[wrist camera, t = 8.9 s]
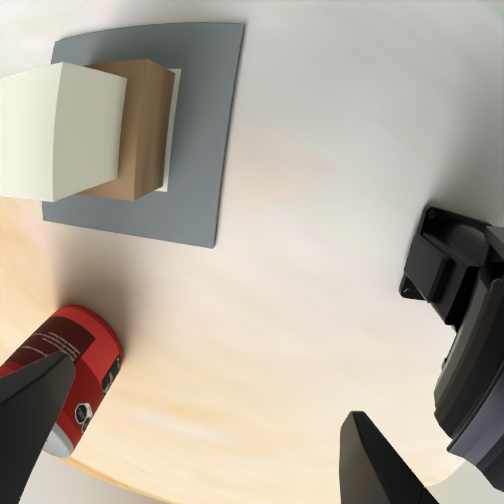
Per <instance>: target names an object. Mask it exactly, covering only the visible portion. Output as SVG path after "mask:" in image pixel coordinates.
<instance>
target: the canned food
mask: <svg viewBox="0 0 504 504" xmlns="http://www.w3.org/2000/svg"><path fill="white" fill-rule="evenodd" d="M57 351H63V352H66V353H68V354H70V356H71V358H72V361H73V365H74V368H75V378H74V381H73V383H72V385H71V388H70V390H69V393H68V395H67V398H66V400H65V403H64V405H63V408H62V410H61V412H60V414H59V417H58V418H57V420H56V422H55V424H54V426H53V428H52V430H51V432H50V434H49V436H48V438H47V440H46V442H45V444H44V446H43V448H42V450H44V451H45V452H47V453H49V454H51V455H54V456H57V457H60V458H69V457H70V455H71V454H72V453H73V451H74V449H75V448H76V446H77V444H78V442H79V441H80V439H81V437H82V435H83V434H84V432H85V430H86V428H87V426H88V425H89V423H90V421H91V419H92V417H93V416H94V414H95V412H96V410H97V409H98V407H99V405H100V403H101V402H102V400H103V398H104V396H105V395H106V393H107V391H108V390H109V388H110V386H111V384H112V383H113V381H114V379H115V378H116V376H117V374H118V373H119V371H120V368H121V364H122V359H123V354H122V348H121V345H120V343H119V340H118V338H117V337H116V335H115V333H114V332H113V331H112V329H111V328H110V327H109V325H108V324H107V323H106V322H105V321H104V320H103V319H102V318H100V317H99V316H98V315H97V314H95V313H94V312H92V311H91V310H89V309H87V308H84V307H82V306H78V305H69V306H66V307H63V308H60V309H59V310H57V311H56V312H55V313H54V314H53V315H52V316H50V317H49V318H48V319H47V320H46V321H45V322H44V323H43V324H42V325H41V326H40V327H39V328H38V329H37V330H36V331H35V332H34V333H33V334H32V335H31V336H30V337H29V338H28V339H27V340H26V341H25V342H24V343H23V344H22V345H21V346H20V347H19V348H18V349H17V350H16V351H15V352H14V353H13V354H12V355H11V356H10V357H9V358H8V359H7V360H6V361H5V363H4V364H3V365H2V366H1V367H0V378H1V377H3V376H5V375H7V374H9V373H12V372H14V371H16V370H18V369H20V368H22V367H25V366H27V365H29V364H31V363H33V362H35V361H37V360H40V359H42V358H44V357H46V356H48V355H50V354H52V353H55V352H57Z"/></svg>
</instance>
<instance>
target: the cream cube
mask: <svg viewBox="0 0 504 504" xmlns="http://www.w3.org/2000/svg"><path fill="white" fill-rule="evenodd" d="M126 85H127V78H124V77H121V76H117V75H114V74H110V73H106V72H103V71H99V70H95V69H91V68H87V67H83V66H79V65H74V64H70V63H65V62H60V63H56V64H51V65H47V66H43V67H39V68H35V69H31V70H27V71H24V72H20V73H17V74H13V75H10V76H7V77H4V78H1V79H0V196H6V197H15V198H23V199H32V200H40V201H48V202H55V201H57V200H60V199H62V198H65V197H67V196H70V195H73V194H75V193H78V192H80V191H83V190H86V189H89V188H91V187H94V186H97V185H100V184H103V183H106V182H109V181H112V180H115V179H118V161H119V146H120V135H121V124H122V115H123V107H124V99H125V92H126Z"/></svg>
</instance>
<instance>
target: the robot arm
mask: <svg viewBox="0 0 504 504" xmlns="http://www.w3.org/2000/svg"><path fill="white" fill-rule="evenodd" d="M430 211H432V215H431V216H430V217H429V212H430ZM404 272H405V273H404V276H403V279H402V282H401V284H400V287H399V293H400V294H401V296H402V297H404V298H409V299H417V300H425V301H427V302H428V303H430V304H431V305H432V306H433V308H434V309H435V311H436V312H437V313H438V315H439V316H440V317H441V319H442V320H443V322H444V323H445V324H446V325H451V327H452V328H453V330H454V331H455V332H456V337H455V339H454V342H453V344H452V347H451V349H450V351H449V354H448V356H447V358H445V359H444V362H443V364H442V372H441V374H440V376H439V378H438V380H437V384H436V387H435V391H434V398H435V407H436V410H435V412H434V416H435V418H436V420H437V422H438V424H439V425H440V427H441V428H442V429H443V430H444V431H445V433H446V434H447V435H448V436H449V437H450V438H451V439H453V440H452V442H451V443H450V444H449V446H448V447H447V451H448V452H449V453H452V454H454V455H457V456H460V457H462V458H464V459H466V460H467V461H469V462H470V463H472V464H473V465H475V466H476V467H477V468H478V469H479V470H480V471H481V472H482V473H483V475H484V476H485V477H486V478H487V480H488V481H489V482H490V483H491V484H492V486H493V487H494V488H496V489H498V490H500V491H502V492H504V227H495V226H492V225H491V224H489V223H487V222H484V221H481V220H478V219H475V218H471V217H468V216H465V215H462V214H459V213H455V212H452V211H449V210H445V209H442V208H438V207H435V206H431V205H428V206H426V207H425V208H424V210H423V213H422V217H421V221H420V225H419V228H418V232H417V234H416V235H415V236H414V239H413V242H412V246H411V249H410V252H409V255H408V258H407V261H406V265H405V268H404ZM407 288H408V290H407V291H406V292H404V290H405V289H407ZM74 378H75V368H74V365H73V361H72V358H71V356H70V354H68V353H66V352H63V351H57V352H55V353H52V354H50V355H48V356H46V357H44V358H42V359H40V360H37V361H35V362H33V363H31V364H29V365H27V366H25V367H22V368H20V369H18V370H16V371H14V372H12V373H9V374H7V375H5V376H3V377H1V378H0V504H18V503H19V501H20V497H21V495H22V493H23V491H24V488H25V486H26V483H27V481H28V479H29V477H30V474H31V472H32V470H33V468H34V465H35V463H36V461H37V459H38V457H39V455H40V453H41V451H42V448H43V446H44V444H45V442H46V440H47V438H48V436H49V434H50V432H51V430H52V428H53V426H54V424H55V422H56V420H57V418H58V417H59V414H60V412H61V410H62V408H63V405H64V403H65V400H66V398H67V395H68V393H69V390H70V388H71V385H72V383H73V381H74ZM339 480H340V494H341V504H439V503H438V502H437V500H436V499H434V497H433V496H432V495H431V494H430V492H429V491H428V490H427V489H426V488H425V487H424V485H423V484H422V483H421V481H420V480H419V479H418V478H417V477H416V475H415V474H414V473H413V472H412V470H411V469H410V468H409V467H408V465H407V464H406V463H405V462H404V461H403V459H402V458H401V457H400V456H399V454H398V453H397V452H396V451H395V449H394V448H393V447H392V446H391V444H390V443H389V442H388V441H387V439H386V438H385V437H384V436H383V434H382V433H381V432H380V431H379V429H378V428H377V427H376V426H375V424H374V423H373V422H372V421H371V419H370V418H369V417H368V416H367V414H366V413H365V412H363V411H351V412H350V413H349V414H348V416H347V418H346V420H345V421H344V423H343V425H342V427H341V431H340V459H339Z"/></svg>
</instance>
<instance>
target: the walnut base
mask: <svg viewBox="0 0 504 504" xmlns="http://www.w3.org/2000/svg"><path fill="white" fill-rule="evenodd" d="M83 67H87V68H91V69H95V70H99V71H103V72H106V73H110V74H114V75H117V76H121V77H124V78H127V85H126V92H125V99H124V107H123V115H122V124H121V135H120V146H119V161H118V179H115V180H112V181H109V182H106V183H103V184H100V185H97V186H94V187H91V188H89V189H86V190H83V191H80V192H78V193H75V194H78V195H87V196H96V197H105V198H114V199H122V200H130V201H135V200H137V199H139V198H140V197H142V196H145V195H147V194H149V193H151V192H153V191H155V190H157V189H159V188H161V187H163V176H164V164H165V153H166V143H167V133H168V124H169V116H170V108H171V101H172V94H173V87H174V80H175V74H176V73H174V72H172V71H170V70H168V69H166V68H165V67H163V66H161V65H159V64H157V63H155V62H153V61H151V60H149V59H141V60H127V61H116V62H107V63H99V64H91V65H84V66H83Z"/></svg>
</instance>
